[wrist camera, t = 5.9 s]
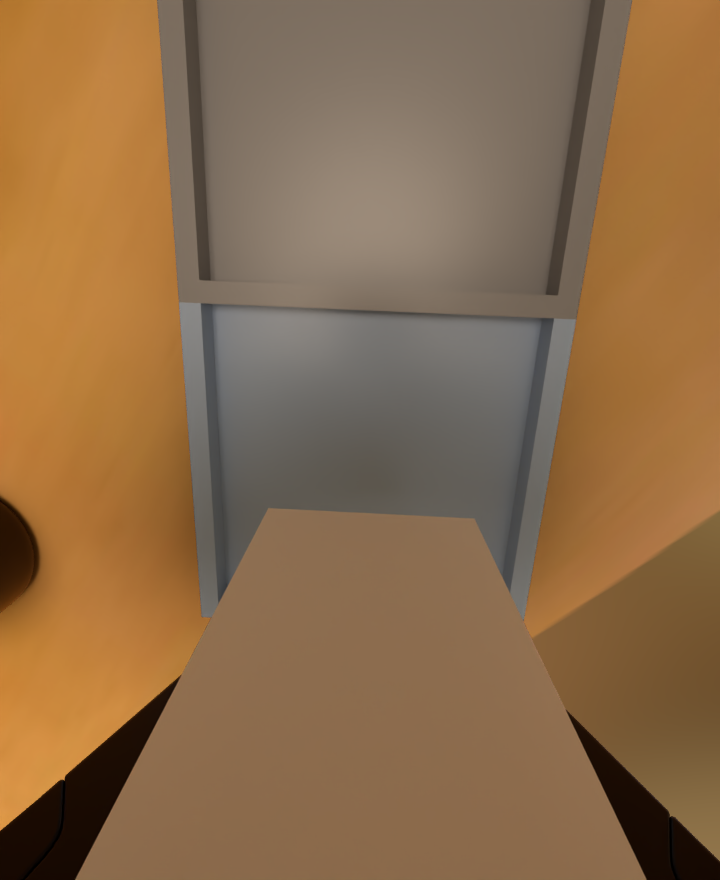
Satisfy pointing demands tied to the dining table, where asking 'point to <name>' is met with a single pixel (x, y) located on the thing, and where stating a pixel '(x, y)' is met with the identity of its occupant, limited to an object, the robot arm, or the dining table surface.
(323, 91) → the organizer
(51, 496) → the dining table surface
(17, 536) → the supplement bottle
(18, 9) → the dining table surface
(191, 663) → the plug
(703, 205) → the dining table surface
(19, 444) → the dining table surface
